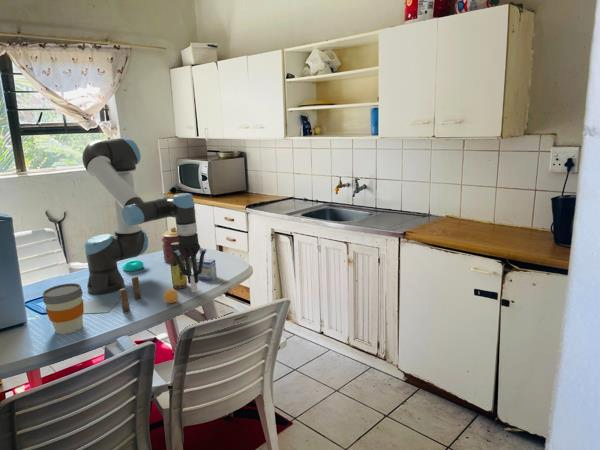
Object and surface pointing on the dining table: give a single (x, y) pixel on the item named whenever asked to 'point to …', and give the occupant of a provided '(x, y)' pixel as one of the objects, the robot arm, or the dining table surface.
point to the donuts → (133, 265)
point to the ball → (170, 296)
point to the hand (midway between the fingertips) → (194, 290)
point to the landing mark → (100, 305)
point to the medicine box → (207, 270)
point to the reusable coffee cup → (64, 307)
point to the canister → (169, 243)
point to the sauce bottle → (177, 269)
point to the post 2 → (136, 288)
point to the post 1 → (124, 300)
